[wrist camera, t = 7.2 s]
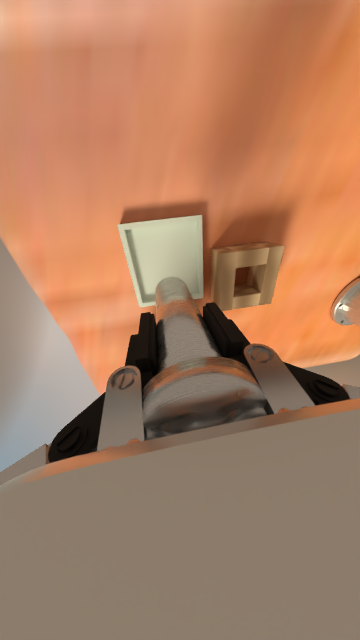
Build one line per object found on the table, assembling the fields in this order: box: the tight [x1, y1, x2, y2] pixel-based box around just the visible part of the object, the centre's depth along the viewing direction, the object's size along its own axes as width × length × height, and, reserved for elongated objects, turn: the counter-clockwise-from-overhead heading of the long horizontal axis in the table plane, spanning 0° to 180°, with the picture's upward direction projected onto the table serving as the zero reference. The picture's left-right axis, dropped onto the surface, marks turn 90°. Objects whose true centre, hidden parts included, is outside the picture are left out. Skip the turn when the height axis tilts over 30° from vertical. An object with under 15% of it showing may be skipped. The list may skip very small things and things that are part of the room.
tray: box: [118, 215, 204, 307], centre depth 25 cm, size 11×12×2 cm
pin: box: [142, 277, 267, 440], centre depth 10 cm, size 5×5×12 cm
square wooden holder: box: [210, 242, 284, 311], centre depth 26 cm, size 9×9×5 cm
